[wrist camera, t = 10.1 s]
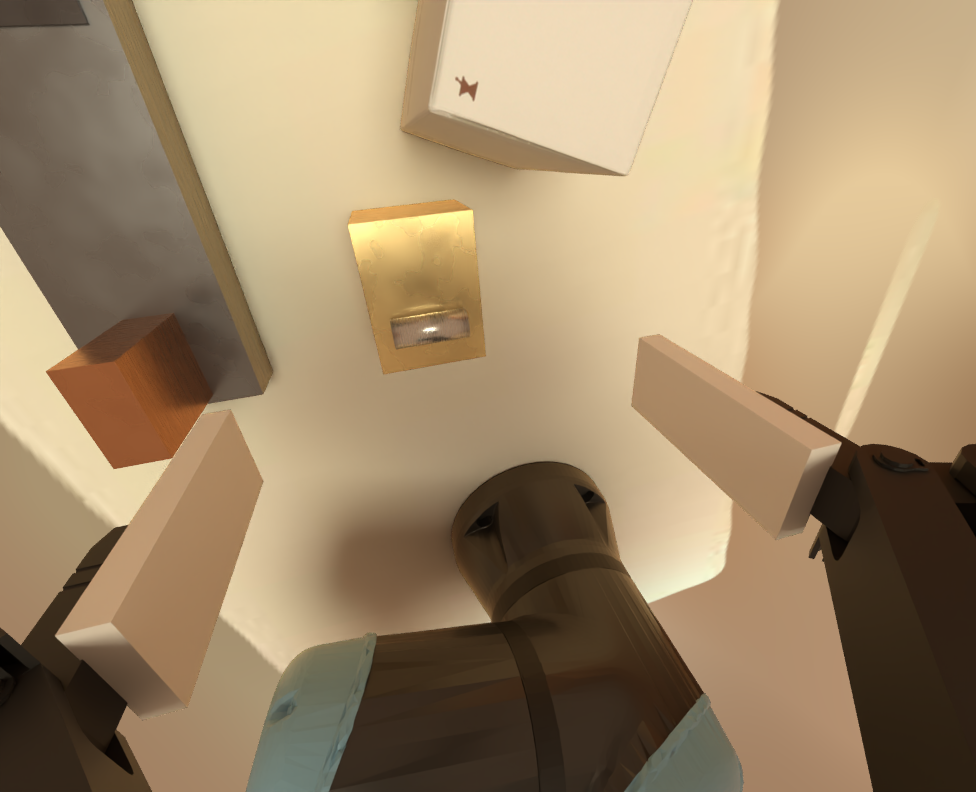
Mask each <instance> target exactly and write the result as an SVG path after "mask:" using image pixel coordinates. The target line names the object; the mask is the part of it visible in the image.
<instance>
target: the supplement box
mask: <svg viewBox="0 0 976 792" xmlns="http://www.w3.org/2000/svg"><path fill="white" fill-rule="evenodd" d="M692 2H693V0H419V1H418V7H417V13H416V19H415V25H414V31H413V37H412V44H411V51H410V58H409V65H408V73H407V80H406V88H405V95H404V103H403V110H402V118H401V125H400V129H401V130H402V131H404V132H407V133H410V134H413V135H416V136H418V137H421V138H424V139H427V140H430V141H433V142H436V143H439V144H441V145H444V146H447V147H450V148H453V149H456V150H459V151H462V152H465V153H468V154H471V155H474V156H477V157H480V158H483V159H486V160H489V161H493V162H496V163H499V164H502V165H505V166H508V167H512V168H515V169H526V170H539V171H555V172H566V173H580V174H595V175H612V176H627V175H628V174H629V172H630V170H631V167H632V165H633V162H634V159H635V156H636V153H637V151H638V148H639V145H640V143H641V140H642V137H643V134H644V132H645V129H646V126H647V123H648V121H649V118H650V115H651V113H652V110H653V107H654V105H655V102H656V99H657V97H658V94H659V91H660V89H661V86H662V83H663V80H664V78H665V75H666V72H667V70H668V67H669V64H670V61H671V59H672V56H673V53H674V51H675V48H676V45H677V42H678V40H679V37H680V34H681V32H682V29H683V26H684V23H685V21H686V18H687V15H688V13H689V10H690V7H691V5H692Z"/></svg>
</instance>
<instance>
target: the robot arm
mask: <svg viewBox="0 0 976 792" xmlns="http://www.w3.org/2000/svg"><path fill="white" fill-rule="evenodd" d="M631 406H632V407H633V408H634V409H635V410H637V411H638V412H639V413H640V414H641V415H642V416H643V417H644V418H645V419H646V420H647V421H648V422H649V423H651V424H652V425H653V426H654V427H655V428H656V429H657V430H658V431H659V432H660V433H661V434H662V435H663V436H665V437H666V438H667V439H668V440H669V441H670V442H671V443H672V444H673V445H674V446H675V447H676V448H677V449H678V450H680V451H681V452H682V453H683V454H684V455H685V456H686V457H687V458H688V459H689V460H690V461H691V462H692V463H694V464H695V465H696V466H697V467H698V468H699V469H700V470H701V471H702V472H703V473H704V474H705V475H706V476H707V477H709V478H710V479H711V480H712V481H713V482H714V483H715V484H716V485H717V486H718V487H719V488H720V489H721V490H723V491H724V492H725V493H726V494H727V495H728V496H729V497H730V498H731V499H732V500H733V501H734V502H735V503H737V504H738V505H739V506H740V507H741V508H742V509H743V510H744V511H745V512H746V513H747V514H748V515H749V516H751V517H752V518H753V519H754V520H755V521H756V522H757V523H758V524H759V525H760V526H761V527H762V528H763V529H765V530H766V531H767V532H768V533H769V534H770V535H771V536H772V537H773V538H774V539H775V540H778V539H782V538H785V537H789V536H793V535H796V534H799V533H802V532H803V530H804V528H805V526H806V523H807V521H808V519H809V516H810V514H811V515H813V516H814V517H815V518H816V519H818V520H819V521H820V522H821V523H822V525H821V528H820V530H819V532H818V534H817V536H816V539H815V541H814V543H813V545H812V547H811V549H810V552H809V558H812V559H814V558H815V556H816V554H817V552H818V551H820V550H822V554H823V560H822V561H823V562H824V564H825V568H826V573H827V578H828V582H829V586H830V591H831V596H832V601H833V605H834V610H835V615H836V620H837V624H838V629H839V634H840V638H841V643H842V648H843V652H844V657H845V662H846V666H847V671H848V675H849V680H850V685H851V689H852V694H853V699H854V704H855V708H856V713H857V718H858V722H859V727H860V731H861V736H862V741H863V745H864V750H865V755H866V760H867V764H868V769H869V774H870V778H871V783H872V788H873V792H976V444H970V445H967V446H964V447H962V448H961V450H960V452H959V453H958V455H957V456H956V458H955V460H954V461H953V463H935V462H934V463H933V462H932V463H931V462H930V463H929V462H927V461H926V460H924V459H922V458H921V457H919V456H917V455H916V454H913V453H911V452H908V451H905V450H903V449H900V448H896V447H892V446H888V445H879V444H869V445H863V446H861V447H860V446H858V445H857V444H855V443H853V442H851V441H850V440H848V439H846V438H844V437H843V436H841V435H839V434H838V433H836V432H834V431H832V430H831V429H829V428H827V427H825V426H824V425H822V424H820V423H819V422H817V421H815V420H813V419H812V418H807V416H806V415H805V414H803V413H801V412H799V411H798V410H794V409H793V407H791V406H789V405H787V404H786V403H784V402H782V401H780V400H779V399H777V398H774V397H772V396H769V395H766V394H763V393H760V392H757V391H754V390H752V389H750V388H749V387H747V386H745V385H744V384H742V383H740V382H739V381H737V380H735V379H734V378H732V377H730V376H729V375H727V374H725V373H724V372H722V371H720V370H719V369H717V368H715V367H713V366H712V365H710V364H708V363H707V362H705V361H703V360H702V359H700V358H698V357H697V356H695V355H693V354H692V353H690V352H688V351H687V350H685V349H683V348H681V347H680V346H678V345H676V344H675V343H673V342H671V341H670V340H668V339H666V338H665V337H663V336H661V335H660V334H658V335H652V336H646V337H641V338H639V344H638V353H637V361H636V370H635V379H634V387H633V396H632V404H631ZM262 484H263V479H262V477H261V475H260V473H259V471H258V468H257V466H256V464H255V462H254V460H253V457H252V455H251V453H250V451H249V448H248V446H247V444H246V442H245V440H244V437H243V435H242V433H241V431H240V429H239V426H238V424H237V422H236V420H235V418H234V415H233V413H232V411H231V409H230V410H224V411H219V412H213V413H207V414H202V415H201V417H200V418H199V420H198V421H197V423H196V424H195V426H194V427H193V429H192V430H191V432H190V433H189V435H188V436H187V438H186V439H185V441H184V442H183V444H182V445H181V447H180V448H179V450H178V451H177V453H176V454H175V456H174V457H173V459H172V460H171V462H170V463H169V465H168V466H167V468H166V469H165V471H164V473H163V474H162V476H161V477H160V479H159V480H158V482H157V483H156V485H155V486H154V488H153V489H152V491H151V492H150V494H149V495H148V497H147V498H146V500H145V501H144V503H143V504H142V506H141V507H140V509H139V510H138V512H137V513H136V515H135V516H134V518H133V519H132V521H131V522H130V524H129V525H126V526H121V527H116V528H114V529H113V530H112V531H110V532H109V533H108V534H107V535H106V536H105V537H103V538H102V539H101V540H100V541H99V542H98V543H96V544H95V545H94V546H93V547H92V548H91V549H90V550H89V552H88V553H87V555H86V556H85V557H84V559H83V560H82V561H81V563H80V564H79V566H78V567H77V569H76V573H74V574H72V575H71V577H70V578H69V580H68V581H67V582H66V584H65V585H64V587H63V591H62V592H59V593H58V595H57V596H56V598H55V599H54V600H53V602H52V603H51V604H50V606H49V607H48V609H47V610H46V611H45V613H44V614H43V615H42V617H41V618H40V620H39V621H38V622H37V624H36V625H35V627H34V628H33V629H32V631H31V632H30V633H29V635H28V636H27V638H26V639H25V640H24V642H23V643H22V644H21V645H20V644H18V643H17V642H16V641H15V640H14V639H13V638H12V637H11V636H10V635H8V634H7V633H6V632H5V631H4V630H2V629H1V628H0V792H152V790H151V789H150V786H149V785H148V782H147V780H146V779H145V776H144V774H143V772H142V770H141V768H140V766H139V764H138V762H137V760H136V759H135V756H134V754H133V753H132V750H131V748H130V747H129V745H128V742H127V740H126V738H125V737H124V736H123V735H122V734H121V733H120V732H118V731H117V730H116V728H117V726H118V724H119V721H120V719H121V717H122V715H123V713H124V710H125V708H126V706H128V707H129V708H130V709H131V710H132V711H133V712H134V713H135V714H136V715H137V716H139V718H141V719H142V720H147V719H150V718H153V717H157V716H161V715H164V714H167V713H171V712H175V711H178V710H182V709H185V708H187V707H188V705H189V702H190V699H191V696H192V693H193V690H194V687H195V684H196V681H197V678H198V675H199V672H200V669H201V666H202V663H203V660H204V657H205V654H206V651H207V648H208V645H209V642H210V639H211V636H212V633H213V630H214V627H215V624H216V621H217V618H218V615H219V612H220V609H221V606H222V603H223V600H224V597H225V594H226V591H227V588H228V585H229V582H230V580H231V577H232V574H233V571H234V568H235V565H236V562H237V559H238V556H239V553H240V550H241V547H242V544H243V541H244V538H245V535H246V532H247V529H248V526H249V523H250V520H251V517H252V514H253V511H254V508H255V505H256V502H257V499H258V496H259V493H260V490H261V487H262ZM451 537H452V545H453V550H454V555H455V559H456V563H457V566H458V568H459V571H460V573H461V574H462V576H463V577H464V579H465V580H466V582H467V584H468V585H469V587H470V588H471V590H472V591H473V593H474V594H475V596H476V597H477V599H478V600H479V602H480V603H481V605H482V606H483V608H484V609H485V611H486V612H487V614H488V615H489V617H490V619H491V622H492V623H483V624H475V625H467V626H459V627H451V628H443V629H435V630H426V631H418V632H410V633H401V634H392V635H384V636H377V635H376V633H367V634H366V635H365V636H364V637H363V638H357V639H351V640H346V641H340V642H334V643H328V644H322V645H317V646H314V647H311V648H308V649H306V650H304V651H303V652H301V653H300V654H299V655H297V656H296V657H295V658H294V659H293V660H292V661H291V663H290V664H289V665H288V666H287V668H286V669H285V671H284V673H283V674H282V676H281V679H280V680H279V683H278V685H277V688H276V691H275V693H274V696H273V698H272V701H271V705H270V707H269V710H268V713H267V717H266V720H265V723H264V727H263V730H262V734H261V737H260V741H259V744H258V748H257V751H256V755H255V759H254V762H253V766H252V770H251V773H250V777H249V780H248V784H247V788H246V792H742V791H743V783H744V782H743V771H742V767H741V763H740V761H739V758H738V756H737V754H736V752H735V750H734V748H733V747H732V745H731V743H730V741H729V739H728V738H727V736H726V734H725V732H724V731H723V728H722V727H721V725H720V723H719V721H718V719H717V717H716V716H715V714H714V712H713V710H712V708H711V707H710V703H711V702H710V700H709V697H708V696H707V695H706V694H705V693H704V692H703V691H702V689H701V688H700V686H699V684H698V683H697V681H696V680H695V678H694V677H693V675H692V673H691V672H690V670H689V669H688V667H687V666H686V664H685V662H684V661H683V659H682V658H681V656H680V655H679V653H678V651H677V650H676V648H675V647H674V645H673V643H672V642H671V640H670V639H669V637H668V635H667V634H666V632H665V631H664V629H663V628H662V626H661V624H660V623H659V621H658V620H657V618H656V616H655V615H654V614H653V612H652V610H651V609H650V607H649V605H648V604H647V602H646V601H645V599H644V597H643V596H642V594H641V593H640V591H639V590H638V588H637V586H636V585H635V583H634V582H633V580H632V579H631V577H630V575H629V574H628V572H627V571H626V569H625V567H624V565H623V564H622V562H621V560H620V555H619V551H618V546H617V542H616V538H615V533H614V529H613V524H612V520H611V516H610V511H609V507H608V505H607V502H606V500H605V498H604V496H603V495H602V494H601V492H600V491H599V489H598V488H597V486H596V485H595V483H594V482H593V480H592V479H591V478H590V477H589V476H588V475H587V474H585V473H584V472H583V471H581V470H579V469H577V468H575V467H573V466H570V465H566V464H561V463H552V462H543V463H533V464H528V465H523V466H520V467H516V468H513V469H511V470H508V471H506V472H503V473H501V474H499V475H497V476H496V477H494V478H492V479H490V480H489V481H487V482H486V483H484V484H483V485H482V486H480V487H479V488H478V489H477V490H476V491H475V492H474V493H473V494H472V495H471V496H470V497H469V498H468V499H467V500H466V501H465V503H464V504H463V505H462V507H461V508H460V510H459V512H458V514H457V516H456V518H455V520H454V523H453V527H452V534H451Z"/></svg>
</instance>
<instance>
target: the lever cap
mask: <svg viewBox="0 0 976 792" xmlns="http://www.w3.org/2000/svg"><path fill="white" fill-rule="evenodd" d="M348 228H349V232H350V236H351V240H352V245H353V249H354V253H355V257H356V261H357V266H358V270H359V274H360V278H361V282H362V286H363V291H364V295H365V299H366V303H367V307H368V312H369V316H370V320H371V324H372V328H373V333H374V337H375V341H376V345H377V349H378V354H379V358H380V362H381V366H382V370H383V374H388V373H394V372H400V371H405V370H411V369H416V368H422V367H428V366H433V365H439V364H444V363H450V362H456V361H461V360H467V359H472V358H478V357H484V356H486V354H485V343H484V332H483V320H482V309H481V298H480V287H479V276H478V265H477V254H476V243H475V232H474V221H473V210H472V209H470V208H468V207H467V206H465V205H463V204H461V203H460V202H458V201H456V200H454V199H453V200H444V201H435V202H427V203H418V204H409V205H400V206H392V207H383V208H374V209H366V210H357V211H352V213H351V216H350V219H349V222H348Z"/></svg>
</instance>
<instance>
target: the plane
mask: <svg viewBox="0 0 976 792" xmlns="http://www.w3.org/2000/svg"><path fill="white" fill-rule="evenodd" d="M0 227H1V228H2V230H3V232H4V233H5V235H6V236H7V238H8V239H9V241H10V243H11V244H12V246H13V247H14V249H15V250H16V252H17V254H18V255H19V257H20V258H21V260H22V262H23V263H24V265H25V266H26V268H27V269H28V271H29V273H30V274H31V276H32V277H33V279H34V280H35V282H36V284H37V285H38V287H39V288H40V290H41V291H42V293H43V295H44V296H45V298H46V299H47V301H48V303H49V304H50V306H51V307H52V309H53V310H54V312H55V314H56V315H57V317H58V318H59V320H60V321H61V323H62V325H63V326H64V328H65V329H66V331H67V333H68V334H69V336H70V337H71V339H72V340H73V342H74V344H75V345H76V347H77V348H78V350H77V351H76V352H74V353H73V354H71V355H70V356H68V357H67V358H65V359H64V360H62V361H61V362H59V363H58V364H56V365H55V366H53V367H52V368H50V369H49V370H47V371H46V373H47V374H48V375H49V377H50V378H51V380H52V381H53V383H54V384H55V386H56V387H57V388H58V390H59V391H60V393H61V394H62V396H63V397H64V398H65V400H66V401H67V403H68V404H69V406H70V407H71V408H72V410H73V411H74V413H75V414H76V416H77V417H78V418H79V420H80V421H81V423H82V424H83V426H84V427H85V428H86V430H87V431H88V433H89V434H90V436H91V437H92V438H93V440H94V441H95V443H96V444H97V446H98V447H99V448H100V450H101V451H102V453H103V454H104V456H105V457H106V458H107V460H108V461H109V463H110V464H111V466H112V467H113V468H114V469H117V468H123V467H128V466H133V465H139V464H144V463H149V462H155V461H160V460H165V459H171V458H173V456H174V454H175V453H176V451H177V450H178V448H179V447H180V445H181V444H182V442H183V441H184V439H185V437H186V436H187V434H188V433H189V431H190V430H191V428H192V427H193V425H194V424H195V422H196V421H197V419H198V417H199V416H200V414H201V413H202V411H203V410H204V408H205V407H206V405H207V404H209V403H215V402H221V401H227V400H233V399H238V398H244V397H250V396H256V395H262V394H264V392H265V389H266V387H267V385H268V383H269V380H270V378H271V376H272V374H273V371H272V368H271V365H270V363H269V360H268V357H267V355H266V352H265V350H264V347H263V344H262V342H261V339H260V336H259V334H258V331H257V329H256V326H255V323H254V321H253V318H252V315H251V313H250V310H249V307H248V305H247V302H246V300H245V297H244V294H243V292H242V289H241V286H240V284H239V281H238V279H237V276H236V273H235V271H234V268H233V265H232V263H231V260H230V258H229V255H228V252H227V250H226V247H225V244H224V242H223V239H222V237H221V234H220V231H219V229H218V226H217V223H216V221H215V218H214V215H213V213H212V210H211V208H210V205H209V202H208V200H207V197H206V194H205V192H204V189H203V187H202V184H201V181H200V179H199V176H198V173H197V171H196V168H195V166H194V163H193V160H192V158H191V155H190V152H189V150H188V147H187V144H186V142H185V139H184V137H183V134H182V131H181V129H180V126H179V123H178V121H177V118H176V116H175V113H174V110H173V108H172V105H171V102H170V100H169V97H168V95H167V92H166V89H165V87H164V84H163V81H162V79H161V76H160V74H159V71H158V68H157V66H156V63H155V60H154V58H153V55H152V52H151V50H150V47H149V45H148V42H147V39H146V37H145V34H144V31H143V29H142V26H141V24H140V21H139V18H138V16H137V13H136V10H135V8H134V5H133V3H132V0H0Z"/></svg>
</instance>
